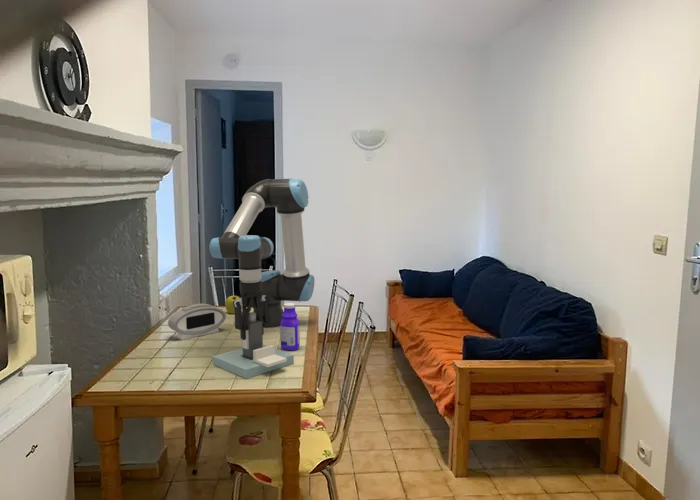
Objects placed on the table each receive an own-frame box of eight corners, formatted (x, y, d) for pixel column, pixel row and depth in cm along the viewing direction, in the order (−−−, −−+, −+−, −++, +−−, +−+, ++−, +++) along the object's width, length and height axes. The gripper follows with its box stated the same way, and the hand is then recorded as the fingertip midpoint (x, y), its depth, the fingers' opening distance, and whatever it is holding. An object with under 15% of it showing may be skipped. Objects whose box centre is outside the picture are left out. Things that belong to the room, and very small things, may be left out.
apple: (226, 308, 271) (231, 289, 270) (241, 313, 271) (246, 294, 269) (220, 312, 264) (226, 293, 262) (236, 317, 263) (241, 298, 261)
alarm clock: (175, 342, 221) (173, 310, 220) (168, 338, 226) (166, 308, 224) (226, 330, 237) (225, 301, 235) (219, 327, 241) (218, 299, 240)
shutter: (272, 356, 193) (271, 344, 192) (286, 361, 187) (286, 349, 187) (253, 361, 187) (252, 350, 187) (267, 367, 182) (267, 355, 181)
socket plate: (259, 351, 208) (259, 343, 208) (293, 363, 194) (293, 355, 194) (212, 364, 194) (212, 356, 194) (246, 378, 180) (245, 369, 180)
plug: (254, 352, 197) (253, 310, 195) (263, 355, 194) (261, 313, 192) (242, 355, 194) (241, 313, 192) (251, 358, 190) (249, 315, 188)
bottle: (302, 347, 213) (301, 302, 210) (296, 351, 207) (294, 306, 205) (284, 345, 215) (283, 301, 213) (278, 349, 210) (277, 304, 207)
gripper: (265, 275, 199) (267, 338, 202) (221, 282, 187) (224, 349, 190) (278, 278, 194) (279, 342, 197) (234, 285, 181) (236, 354, 184)
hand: (252, 346), depth 193 cm, fingers closed on plug, 5 cm apart
